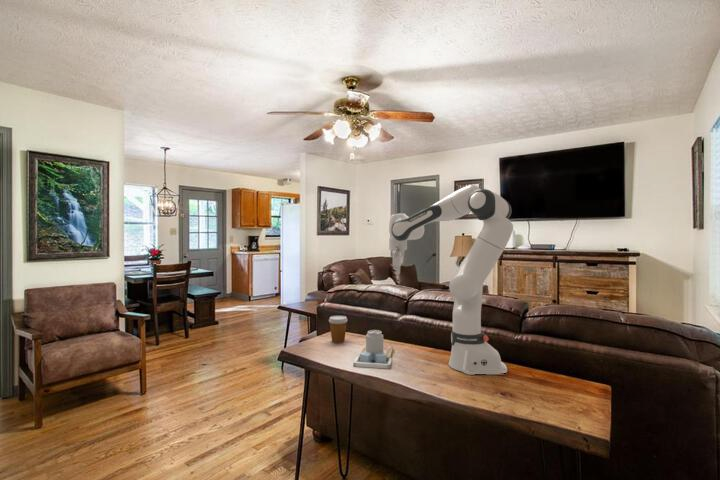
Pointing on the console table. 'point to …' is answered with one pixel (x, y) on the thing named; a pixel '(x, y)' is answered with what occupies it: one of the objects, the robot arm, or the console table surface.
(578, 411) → the console table surface
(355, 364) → the white u-shaped frame
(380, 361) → the light blue boxy piece
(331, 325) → the disposable coffee cup
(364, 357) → the light blue cubic block
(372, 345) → the can
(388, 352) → the slot rails
